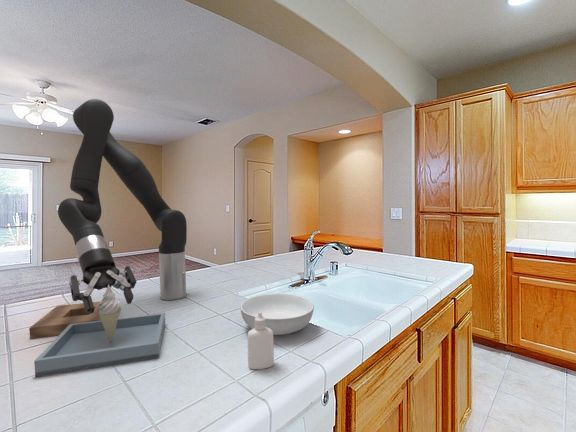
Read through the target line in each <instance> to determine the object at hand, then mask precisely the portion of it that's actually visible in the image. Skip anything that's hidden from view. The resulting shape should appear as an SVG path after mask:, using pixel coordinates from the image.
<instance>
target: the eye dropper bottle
mask: <svg viewBox="0 0 576 432" xmlns="http://www.w3.org/2000/svg"><path fill="white" fill-rule="evenodd" d="M274 350H275V349H274V335H273V332H272V330H271V329H270V328H267V327H266V318H265V317H263V316H262V312H258V317H256V318H255V328H254V329H252V328H251V329H250V330H249V331H248V332H247V366H248V368H249V369H250V370H265V369H269V368H271V367H273V366H274V364H275V362H274V361H275V357H274V356H275V355H274V353H275V352H274Z"/></svg>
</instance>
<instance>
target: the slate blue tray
mask: <svg viewBox="0 0 576 432" xmlns="http://www.w3.org/2000/svg"><path fill="white" fill-rule="evenodd" d="M165 327H166V313H165V312H162V313H161V312H160V313H152V314H145V315H144V314H143V315H136V316H135V315H134V316H126V317H120V318H119V317H118V320H117V324H116V329H115V333H114V337H113V341H112V342H111V343H110V341H109V339H108V336H107V334H106V331H105V329H104V326H103V324H102V322H101V320H100V321H91V322H83V323H74V324H70V325H69V326H68V327H67V328H66V329H65V330H64V331H63V332H62V333H61V334H60V335H57V336H56V338H55V339H54V340H53V341H52V342H51V343H50V344H49V345H48V346H47V348H45V350H43V352H41V353H40V354H39V356H38V357H36V359H35V360H34V362H33V363H34V376H35V377H34V378H38V377H39V378H40V377H45V376H52V375H57V374H64V373H70V372H71V373H72V372H76V371H83V370H89V369H95V368H104V367H108V366H116V365H121V364H127V363H133V362H139V361H140V362H141V361H148V360H152V359H159V358H160V354H161V347H162V343H163V340H164V339H163V338H164V333H165Z"/></svg>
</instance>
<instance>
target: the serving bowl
mask: <svg viewBox="0 0 576 432" xmlns="http://www.w3.org/2000/svg"><path fill="white" fill-rule="evenodd" d="M314 306H315V305H314V304H313V302H312V301H311V300H310V299H308V298H305V297H303V296H301V295H296V294H289V293H266V294H264V293H263V294H259V295H256V296H253V297H252V296H251V297H250V298H247V299H245V300H244V301H243V302H241V304H240V314H241V318H242V319H243V322H244V323H245V324H246V325H247V326H248V327H249V328H250V329H251V330H252V329H254V328H255V318H256V317H258V312H262V316H263V317H265V318H266V327H267V328H270V329H271V330H272V332H273V336H279V335H280V336H282V335H288V334H293V333H296V332H299V331H300V330H302V329H303V328H305V327H306V326H308V324H309V323H310V322H311V319H312V317H313V315H314V309H315V307H314Z"/></svg>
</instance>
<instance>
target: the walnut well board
mask: <svg viewBox="0 0 576 432" xmlns="http://www.w3.org/2000/svg"><path fill="white" fill-rule="evenodd" d="M101 301H102V300H101ZM101 301H92V302H93V305H94V312H93V313H91V314H90V313H89V312H87V311H86V310H85V307H84V303H83V302H82V303H72V304H61V305H56V306H55V307H54V308H53V309H51V310H50V311H48V313H46V314H45V315H44V316H42V317H41V318H40V319H39V320H38V321H36V322H35V323H33V325H31V326H30V327H29V339H30V340H32V339H40V338H47V337H55V336H56V337H58V336H59V335H60V334H61V333H62V332H63V331H64V330H65V329H66V328H67V327H68V326H69V325H70V324H74V323H83V322H91V321H100V320H101V319H100V316H99V314H98V312H99V310H98V309H99V304H100V303H101Z"/></svg>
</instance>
